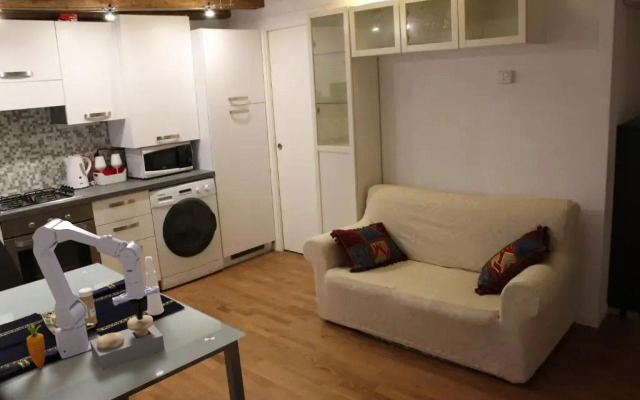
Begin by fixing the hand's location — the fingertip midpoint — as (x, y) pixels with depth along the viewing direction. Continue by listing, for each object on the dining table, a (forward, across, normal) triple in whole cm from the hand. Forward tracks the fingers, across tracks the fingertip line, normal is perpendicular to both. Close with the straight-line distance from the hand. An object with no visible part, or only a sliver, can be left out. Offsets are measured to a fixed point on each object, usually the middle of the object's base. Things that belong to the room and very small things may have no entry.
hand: (139, 318), depth 182 cm
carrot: (+10, -30, +8) cm, 33 cm away
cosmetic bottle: (+10, +12, +23) cm, 28 cm away
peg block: (+10, -5, 0) cm, 11 cm away
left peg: (+10, -10, 0) cm, 14 cm away
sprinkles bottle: (+10, -10, +29) cm, 32 cm away
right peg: (+7, 0, 0) cm, 7 cm away
